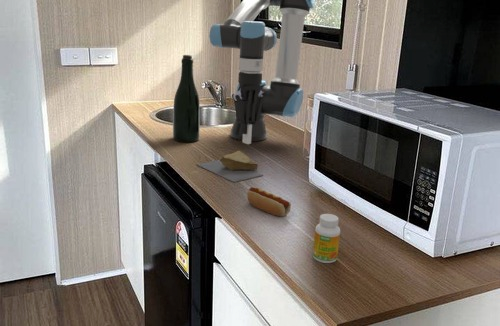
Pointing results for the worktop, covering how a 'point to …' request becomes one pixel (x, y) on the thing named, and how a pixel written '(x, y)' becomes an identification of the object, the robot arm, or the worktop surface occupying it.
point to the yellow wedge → (238, 161)
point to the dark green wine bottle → (186, 105)
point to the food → (268, 202)
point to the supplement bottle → (326, 239)
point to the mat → (229, 171)
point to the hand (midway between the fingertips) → (246, 142)
